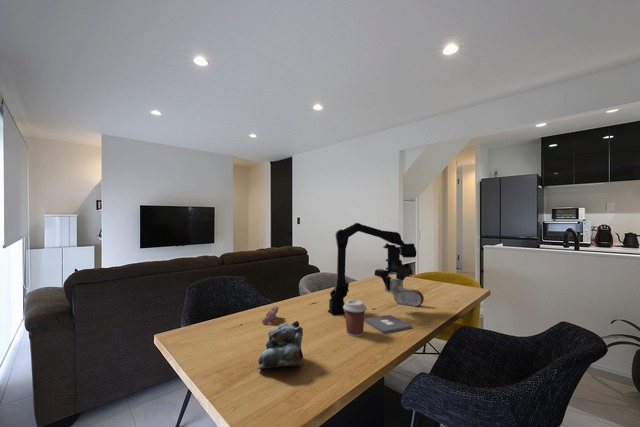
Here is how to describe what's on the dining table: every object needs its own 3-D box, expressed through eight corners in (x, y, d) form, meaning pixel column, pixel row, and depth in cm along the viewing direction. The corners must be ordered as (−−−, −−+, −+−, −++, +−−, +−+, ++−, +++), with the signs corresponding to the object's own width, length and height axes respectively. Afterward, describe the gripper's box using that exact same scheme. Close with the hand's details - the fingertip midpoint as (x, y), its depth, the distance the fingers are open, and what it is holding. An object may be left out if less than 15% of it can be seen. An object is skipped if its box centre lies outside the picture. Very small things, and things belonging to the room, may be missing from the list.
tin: (423, 306, 141) (423, 290, 141) (422, 308, 138) (422, 291, 138) (394, 302, 149) (394, 286, 149) (393, 303, 146) (393, 287, 146)
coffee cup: (366, 339, 102) (366, 306, 103) (341, 336, 104) (341, 305, 104) (367, 329, 111) (366, 299, 111) (344, 327, 113) (344, 298, 113)
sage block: (392, 294, 129) (392, 281, 129) (384, 291, 134) (384, 278, 134) (403, 293, 131) (402, 280, 131) (394, 290, 137) (394, 277, 137)
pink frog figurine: (270, 328, 116) (278, 313, 116) (261, 323, 116) (268, 308, 116) (274, 320, 126) (281, 306, 126) (265, 315, 126) (272, 301, 126)
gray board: (383, 333, 107) (383, 330, 107) (364, 321, 120) (364, 318, 120) (411, 328, 113) (411, 325, 113) (390, 317, 125) (390, 314, 125)
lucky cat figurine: (248, 369, 81) (254, 319, 88) (277, 370, 89) (280, 324, 96) (284, 369, 73) (288, 314, 80) (313, 370, 81) (314, 320, 88)
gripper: (388, 261, 122) (388, 296, 122) (420, 258, 129) (420, 291, 129) (373, 257, 132) (373, 290, 132) (404, 255, 140) (404, 286, 139)
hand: (393, 289), depth 133 cm, fingers closed on sage block, 6 cm apart
